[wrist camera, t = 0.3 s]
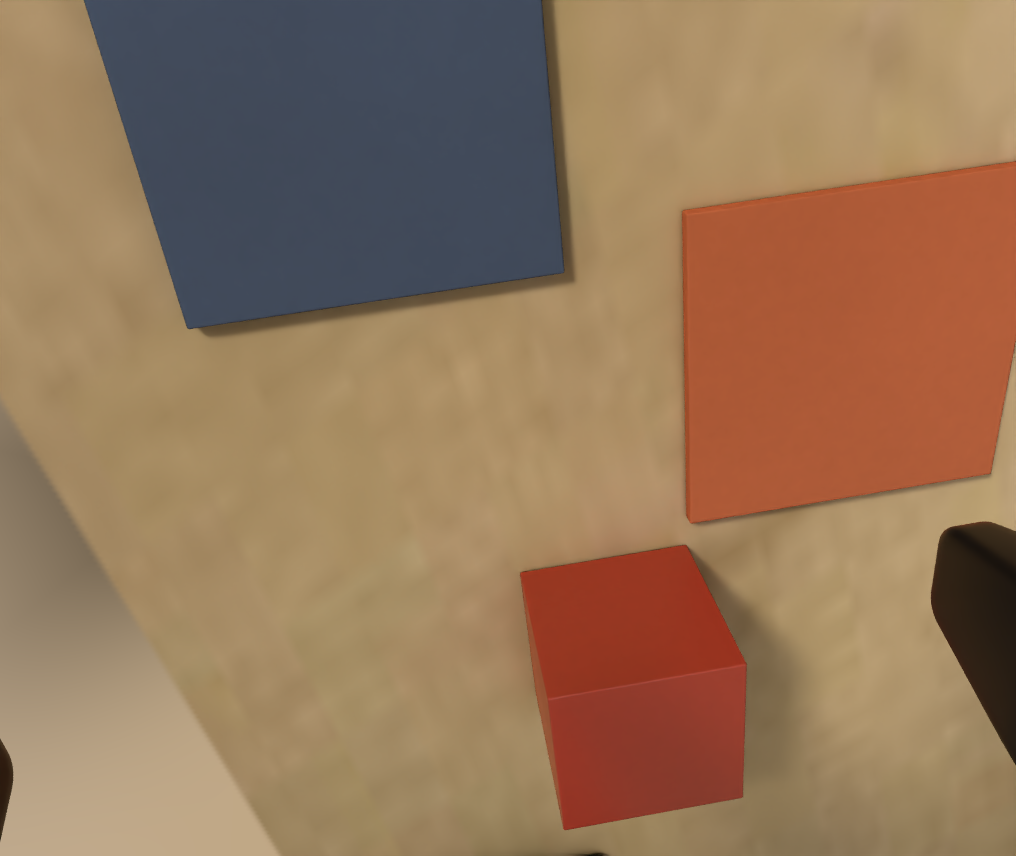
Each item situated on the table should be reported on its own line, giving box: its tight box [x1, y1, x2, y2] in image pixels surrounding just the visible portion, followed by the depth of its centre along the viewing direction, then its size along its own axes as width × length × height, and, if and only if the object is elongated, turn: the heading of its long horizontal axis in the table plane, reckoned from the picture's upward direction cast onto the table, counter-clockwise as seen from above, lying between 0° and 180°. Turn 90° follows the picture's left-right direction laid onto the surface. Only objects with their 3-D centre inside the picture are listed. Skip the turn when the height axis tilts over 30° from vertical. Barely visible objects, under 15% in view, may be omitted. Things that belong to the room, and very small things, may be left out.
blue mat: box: [84, 0, 564, 329], centre depth 19 cm, size 9×9×1 cm
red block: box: [520, 545, 747, 830], centre depth 25 cm, size 5×5×5 cm
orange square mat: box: [682, 162, 1016, 523], centre depth 23 cm, size 9×9×1 cm
